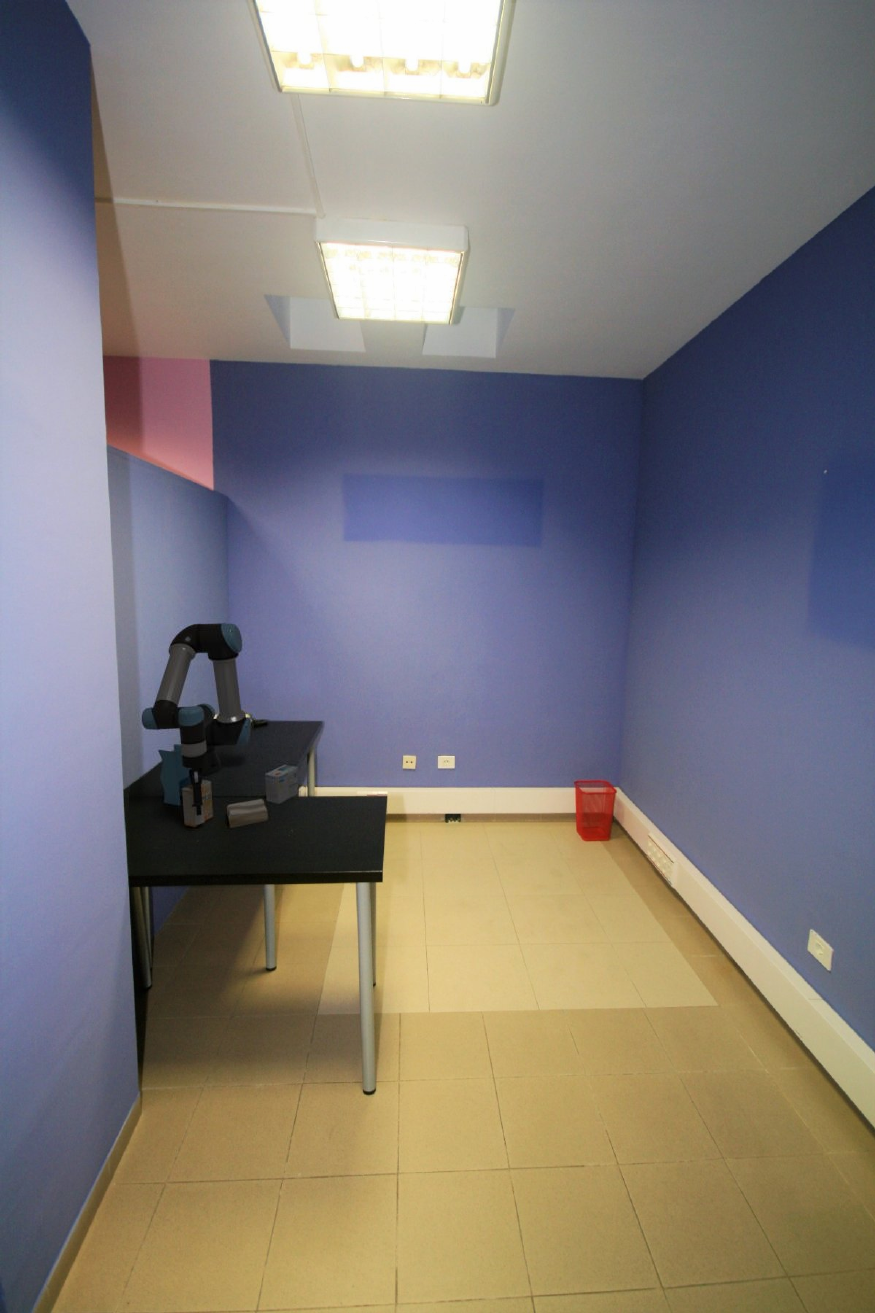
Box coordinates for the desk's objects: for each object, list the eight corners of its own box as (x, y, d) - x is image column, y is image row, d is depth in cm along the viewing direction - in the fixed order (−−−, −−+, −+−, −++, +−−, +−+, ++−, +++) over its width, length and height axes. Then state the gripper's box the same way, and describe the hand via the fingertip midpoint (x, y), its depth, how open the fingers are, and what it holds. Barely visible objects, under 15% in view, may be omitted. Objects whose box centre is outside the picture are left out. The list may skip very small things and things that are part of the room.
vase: (179, 794, 199) (175, 743, 196) (195, 796, 196) (191, 746, 193) (162, 802, 192) (157, 750, 188) (178, 805, 189) (174, 752, 186)
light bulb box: (285, 790, 202) (284, 764, 201) (299, 793, 199) (298, 766, 198) (265, 801, 193) (264, 773, 191) (279, 804, 190) (278, 776, 188)
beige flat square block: (227, 815, 181) (226, 804, 180) (263, 808, 186) (262, 798, 186) (230, 827, 172) (229, 816, 172) (267, 820, 178) (267, 809, 177)
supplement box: (195, 828, 172) (192, 790, 170) (184, 825, 173) (181, 788, 171) (214, 817, 179) (211, 781, 177) (203, 814, 181) (200, 779, 179)
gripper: (181, 745, 180) (186, 806, 184) (182, 766, 161) (187, 833, 165) (204, 742, 184) (209, 802, 187) (208, 762, 165) (213, 828, 168)
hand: (199, 817), depth 176 cm, fingers closed on supplement box, 9 cm apart
